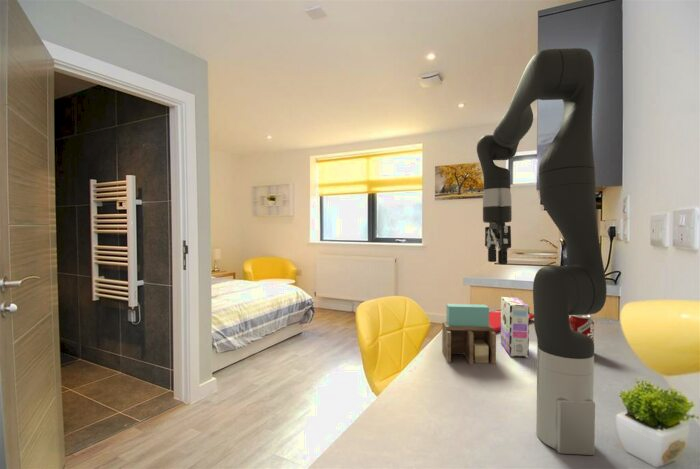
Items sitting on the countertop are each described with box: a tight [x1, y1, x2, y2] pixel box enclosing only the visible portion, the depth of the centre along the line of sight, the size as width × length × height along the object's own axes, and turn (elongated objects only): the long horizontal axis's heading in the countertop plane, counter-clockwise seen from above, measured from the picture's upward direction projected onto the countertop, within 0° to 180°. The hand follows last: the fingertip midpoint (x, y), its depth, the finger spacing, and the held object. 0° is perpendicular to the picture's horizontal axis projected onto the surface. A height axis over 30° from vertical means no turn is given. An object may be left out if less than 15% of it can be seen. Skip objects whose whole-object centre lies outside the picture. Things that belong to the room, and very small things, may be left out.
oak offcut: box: [473, 340, 489, 363], centre depth 110 cm, size 6×4×5 cm, turn 176°
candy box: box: [500, 296, 530, 359], centre depth 117 cm, size 14×6×16 cm, turn 168°
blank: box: [445, 303, 490, 327], centre depth 111 cm, size 12×4×6 cm, turn 84°
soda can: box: [569, 314, 595, 343], centre depth 115 cm, size 7×7×12 cm
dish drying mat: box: [489, 309, 534, 334], centre depth 147 cm, size 16×41×4 cm, turn 126°
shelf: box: [441, 321, 497, 365], centre depth 110 cm, size 9×14×10 cm, turn 85°
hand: (497, 263), depth 100 cm, fingers open, 8 cm apart
